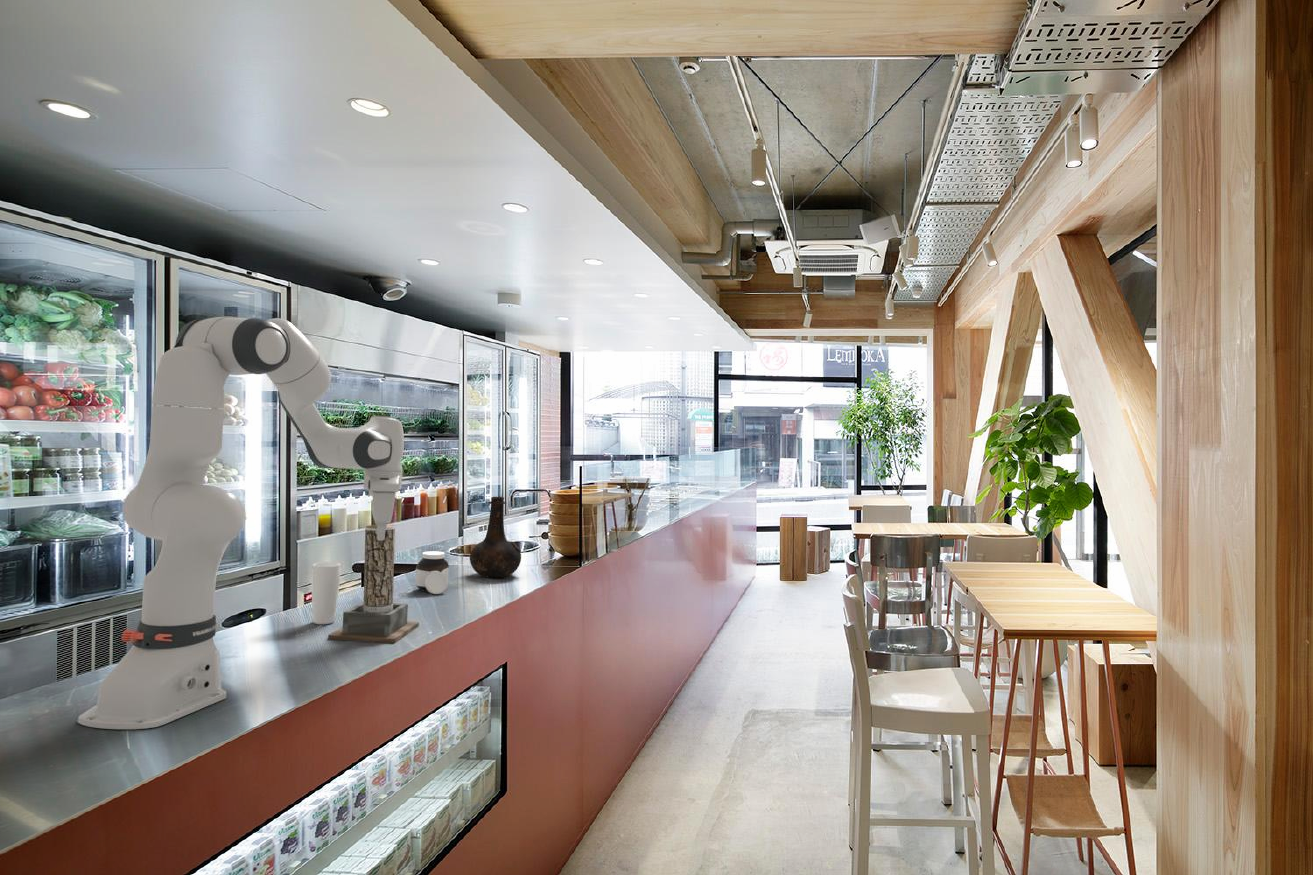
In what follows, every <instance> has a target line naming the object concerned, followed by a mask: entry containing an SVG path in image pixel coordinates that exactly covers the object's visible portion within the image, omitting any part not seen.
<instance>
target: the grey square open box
mask: <svg viewBox="0 0 1313 875" xmlns="http://www.w3.org/2000/svg"><path fill="white" fill-rule="evenodd" d="M408 608H409V604H408V603H394V602H393V610H392V611H391V612H389V613H371V612H364V611H363V610H364V601H362V602H361V603H358V604H357V605H354V606H353V607H350V608H349V609H347V610H345V611H343V613H342V614H343V615H342V627H340V628H338V629H336V630H334V631H333V632H331V633H328V635H327V636H328V637H327V640H333V639H335V641H352V642H353V641H354V642H366V643H367V642H368V643H370V642H371V643H385V644H388V643H389V644H396V643H397V642H399V641H400V640H401V639H403V638H404V637H405V636H407V635H408V634H409V633H411V632H413V631H414V630H415V629H417V628H418V627H419V626H420V622H419V621H409V620H408V613H409V612H408Z"/></svg>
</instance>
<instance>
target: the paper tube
mask: <svg viewBox="0 0 1313 875" xmlns="http://www.w3.org/2000/svg"><path fill="white" fill-rule="evenodd" d="M364 530H365V532H364V572H363V573H364V574H363V575H364V577H363V602H364V610H363V611H364V612H371V613H389V612H391V611H392V610H393V603H394V579H395V578H394V574H395V573H394V571H395V569H394V568H395V534H396V532H395V530H396V529H395V525H394V524H393V525H391V524H387V525H386V531H385V539H384V540H377V525H375V524H372V525H370V524H369V525H366V526H365V529H364Z"/></svg>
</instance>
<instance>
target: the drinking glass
mask: <svg viewBox="0 0 1313 875" xmlns="http://www.w3.org/2000/svg"><path fill="white" fill-rule="evenodd" d="M341 568H342V566H341V563H339V562H336V561H322V562H321V561H320V562H315V563H313V564H312V565H311V577H310V578H311V582H310V583H311V585H310V586H311V606H312V608H311V610H312V611H311V612H312V618H311V620H312V623H313V624H315V625H320V626H321V625H322V626H323V625H329V624H333V623H335V620H336V613H337V603H338V598H339V589H340V584H341Z"/></svg>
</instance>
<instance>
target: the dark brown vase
mask: <svg viewBox="0 0 1313 875" xmlns="http://www.w3.org/2000/svg"><path fill="white" fill-rule="evenodd" d="M504 499H505V497H504V496H492V497H491V500H490V501H488V504H490V509H489V510H490V512H489V519H488V520H489V521H488V526H487V531H486V534H485V536H484V539H483V540H482V541H481V542H478V543H477V544H476V545H475V546H474V547H473V548H472V549H471V550H470V554H469V563H470V566H471V567H472V569H473V570H474V572H475V573H476V574H478V575H479V576H482V577H485V578H490V579H491V578H493V579H497V578H498V579H501V578H505V577H510V576H511V575H513V574H514V573H515V572H516V571H517V569H518V568H519V566H520V564H521V561H522V553H521V552H522V550H521V548H520V547H519V546H518V544H517V543H516V542H514V541H511V542H510V541H508V540H507V537H506V534H505V522H504V520H505V519H504V505H506V504H507V502H506V501H504ZM500 577H501V578H500Z"/></svg>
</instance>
